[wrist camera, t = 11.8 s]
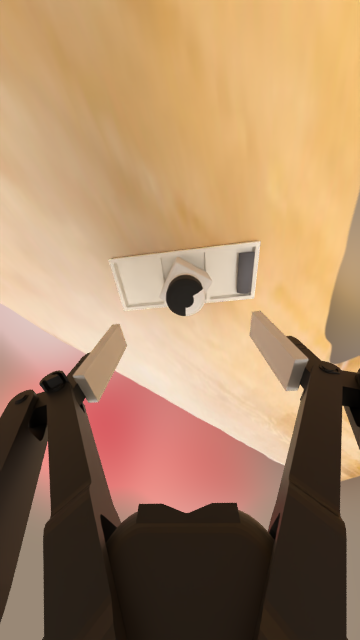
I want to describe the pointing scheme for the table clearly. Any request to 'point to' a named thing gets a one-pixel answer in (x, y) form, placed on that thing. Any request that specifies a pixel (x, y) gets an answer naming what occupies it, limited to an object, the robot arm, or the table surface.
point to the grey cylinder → (245, 272)
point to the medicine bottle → (185, 288)
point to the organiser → (153, 269)
